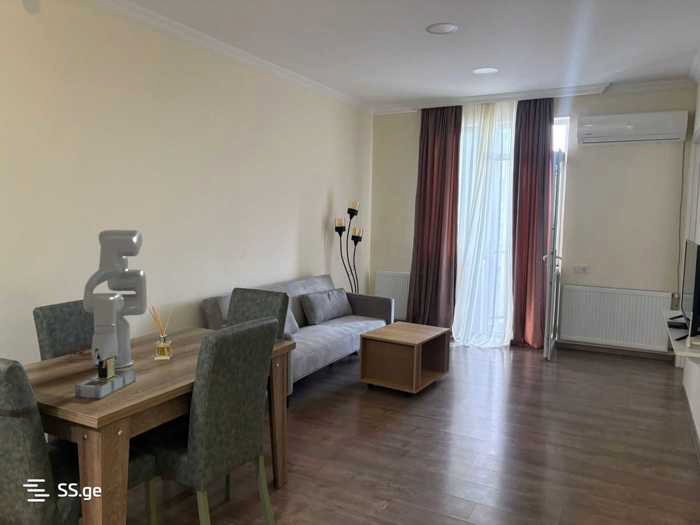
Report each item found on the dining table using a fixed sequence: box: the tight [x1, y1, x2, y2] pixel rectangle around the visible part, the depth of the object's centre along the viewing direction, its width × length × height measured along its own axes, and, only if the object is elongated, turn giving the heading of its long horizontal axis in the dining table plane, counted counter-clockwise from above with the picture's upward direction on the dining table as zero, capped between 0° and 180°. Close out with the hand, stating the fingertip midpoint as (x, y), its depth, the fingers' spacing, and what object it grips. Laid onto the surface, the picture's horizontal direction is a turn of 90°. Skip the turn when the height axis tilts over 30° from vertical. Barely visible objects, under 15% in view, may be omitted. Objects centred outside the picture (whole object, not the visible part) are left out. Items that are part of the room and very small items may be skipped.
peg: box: [98, 357, 115, 380], centre depth 201 cm, size 4×4×10 cm
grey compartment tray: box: [74, 368, 136, 400], centre depth 201 cm, size 10×22×4 cm, turn 169°
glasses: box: [69, 343, 92, 357], centre depth 250 cm, size 13×13×5 cm
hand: (106, 375), depth 201 cm, fingers closed on peg, 3 cm apart
